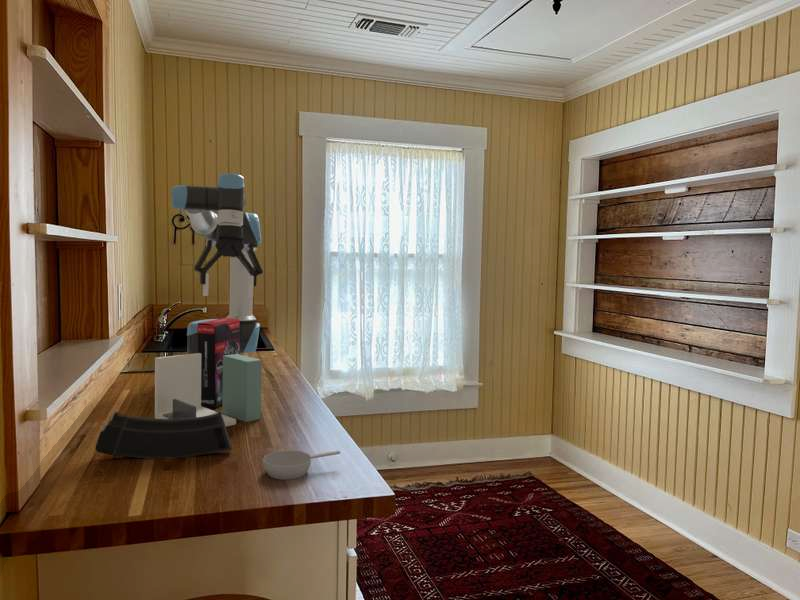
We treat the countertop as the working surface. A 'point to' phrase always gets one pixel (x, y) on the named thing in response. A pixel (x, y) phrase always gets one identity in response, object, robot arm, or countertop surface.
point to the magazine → (163, 436)
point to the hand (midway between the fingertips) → (228, 296)
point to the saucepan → (290, 463)
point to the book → (242, 387)
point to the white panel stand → (180, 385)
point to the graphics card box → (216, 356)
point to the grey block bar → (181, 410)
